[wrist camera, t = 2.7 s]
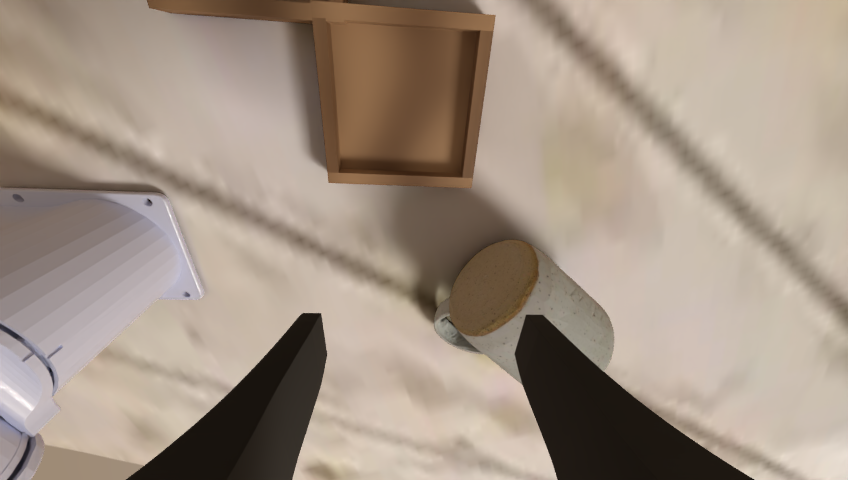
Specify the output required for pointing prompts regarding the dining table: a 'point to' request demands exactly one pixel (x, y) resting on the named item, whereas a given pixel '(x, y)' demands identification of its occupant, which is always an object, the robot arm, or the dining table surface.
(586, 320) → the ceramic mug
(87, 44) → the dining table surface
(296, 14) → the tray
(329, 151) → the tray
